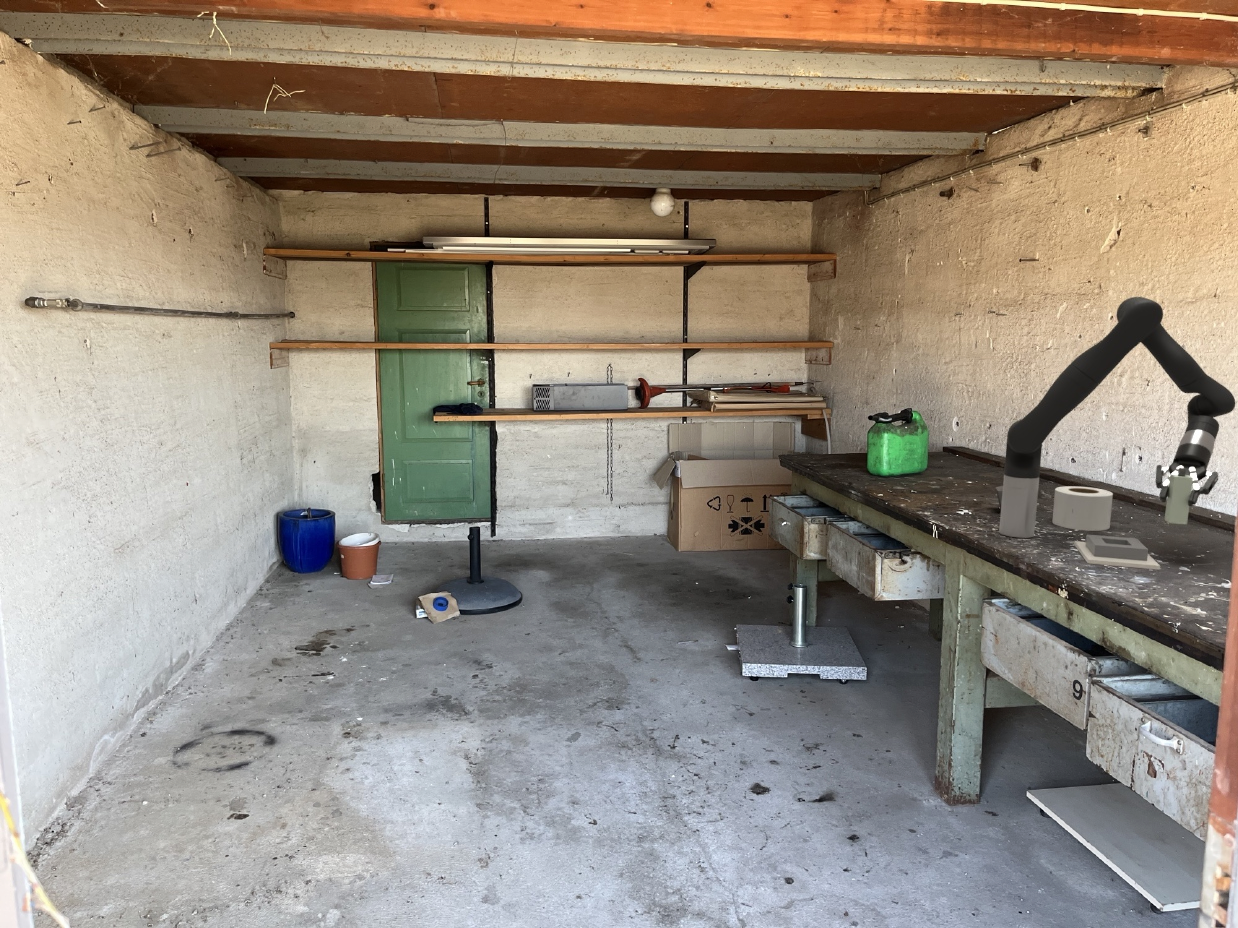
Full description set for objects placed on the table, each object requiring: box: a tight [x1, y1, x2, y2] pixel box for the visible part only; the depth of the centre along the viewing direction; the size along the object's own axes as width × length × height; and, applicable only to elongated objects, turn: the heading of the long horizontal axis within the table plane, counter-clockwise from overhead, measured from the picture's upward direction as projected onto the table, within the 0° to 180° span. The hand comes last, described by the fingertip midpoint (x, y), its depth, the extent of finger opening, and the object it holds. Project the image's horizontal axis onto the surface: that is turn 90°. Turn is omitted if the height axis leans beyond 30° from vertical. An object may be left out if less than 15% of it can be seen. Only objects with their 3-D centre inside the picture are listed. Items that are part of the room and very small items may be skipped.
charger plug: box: [1164, 468, 1193, 525], centre depth 219 cm, size 4×4×14 cm
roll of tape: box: [1052, 485, 1114, 532], centre depth 261 cm, size 16×15×11 cm
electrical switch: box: [995, 485, 1003, 510], centre depth 279 cm, size 9×5×9 cm, turn 162°
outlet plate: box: [1073, 534, 1161, 571], centre depth 226 cm, size 20×16×4 cm
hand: (1176, 502), depth 218 cm, fingers closed on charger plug, 5 cm apart
